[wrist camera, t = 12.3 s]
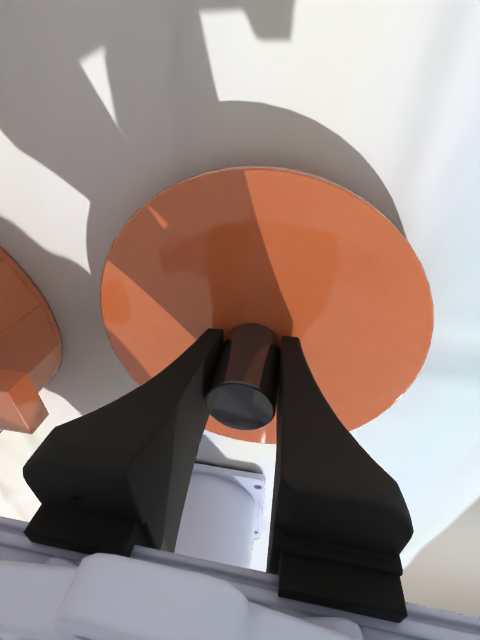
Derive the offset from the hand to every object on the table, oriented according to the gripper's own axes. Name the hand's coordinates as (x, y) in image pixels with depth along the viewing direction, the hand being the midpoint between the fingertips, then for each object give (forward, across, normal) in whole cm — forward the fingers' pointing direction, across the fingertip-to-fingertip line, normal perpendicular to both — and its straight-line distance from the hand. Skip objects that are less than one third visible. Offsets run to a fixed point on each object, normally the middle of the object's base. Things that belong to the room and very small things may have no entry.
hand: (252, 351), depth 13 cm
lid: (+1, 0, 0) cm, 1 cm away
